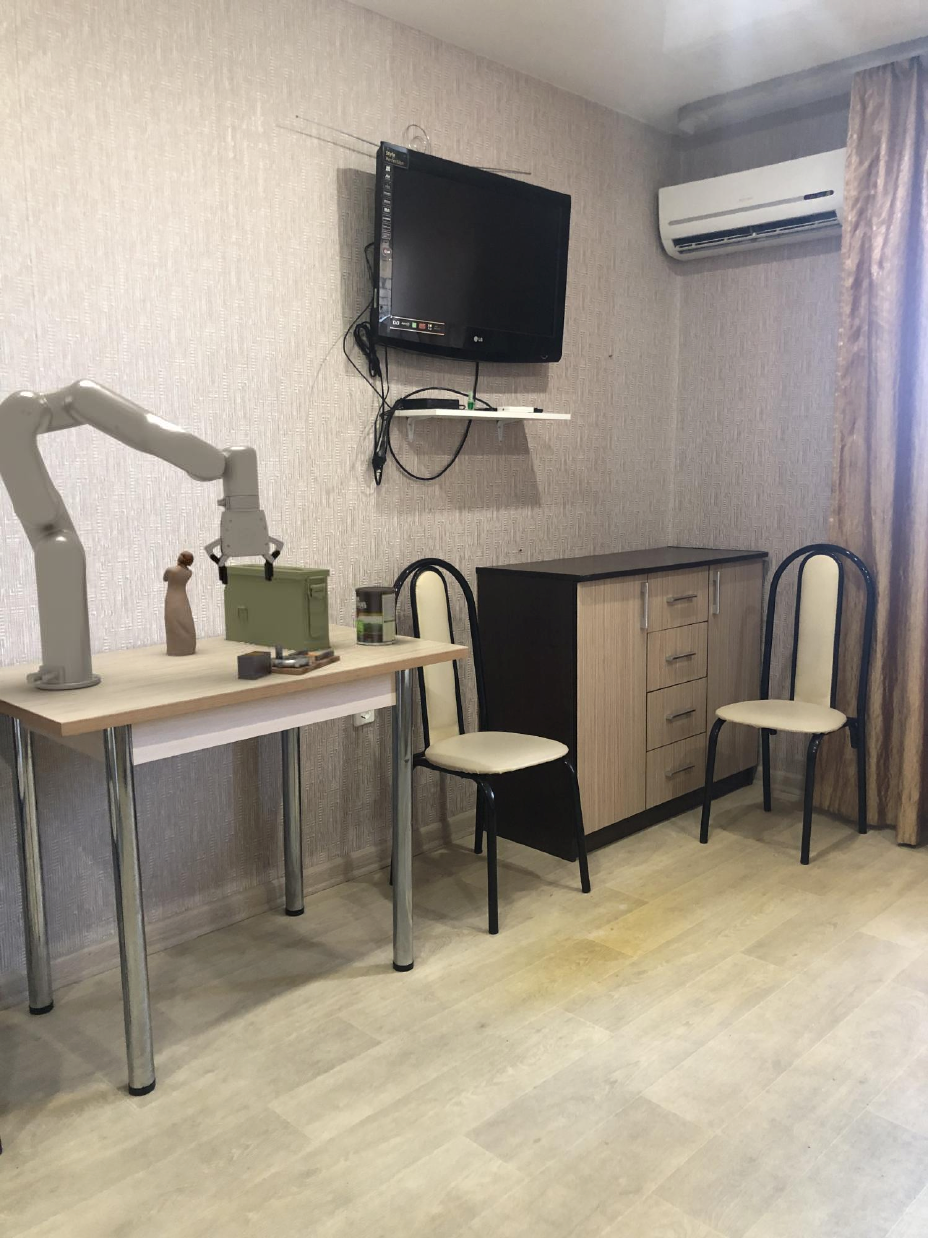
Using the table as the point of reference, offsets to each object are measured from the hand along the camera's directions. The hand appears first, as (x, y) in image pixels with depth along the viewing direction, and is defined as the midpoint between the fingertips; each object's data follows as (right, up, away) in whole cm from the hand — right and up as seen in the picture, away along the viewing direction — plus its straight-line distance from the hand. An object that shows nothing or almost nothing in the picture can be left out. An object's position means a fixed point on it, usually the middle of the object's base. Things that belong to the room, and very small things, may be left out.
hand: (246, 582), depth 218 cm
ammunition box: (0, -15, +38) cm, 40 cm away
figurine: (-22, -17, +25) cm, 37 cm away
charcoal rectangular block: (+3, -21, -4) cm, 21 cm away
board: (+10, -19, +7) cm, 22 cm away
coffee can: (+25, -14, +38) cm, 48 cm away
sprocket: (+9, -18, +3) cm, 20 cm away
